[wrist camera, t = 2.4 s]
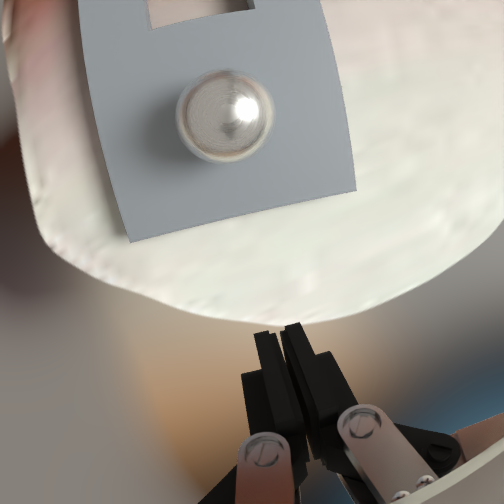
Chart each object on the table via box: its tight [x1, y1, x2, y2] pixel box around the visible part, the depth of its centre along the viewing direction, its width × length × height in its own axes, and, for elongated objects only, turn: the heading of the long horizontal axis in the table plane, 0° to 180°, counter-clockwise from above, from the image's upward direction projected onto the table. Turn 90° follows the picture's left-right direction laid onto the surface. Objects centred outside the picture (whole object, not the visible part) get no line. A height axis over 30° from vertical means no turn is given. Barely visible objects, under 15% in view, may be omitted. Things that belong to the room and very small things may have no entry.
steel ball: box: [175, 68, 276, 165], centre depth 14 cm, size 5×5×5 cm
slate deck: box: [78, 0, 357, 243], centre depth 15 cm, size 22×15×2 cm
